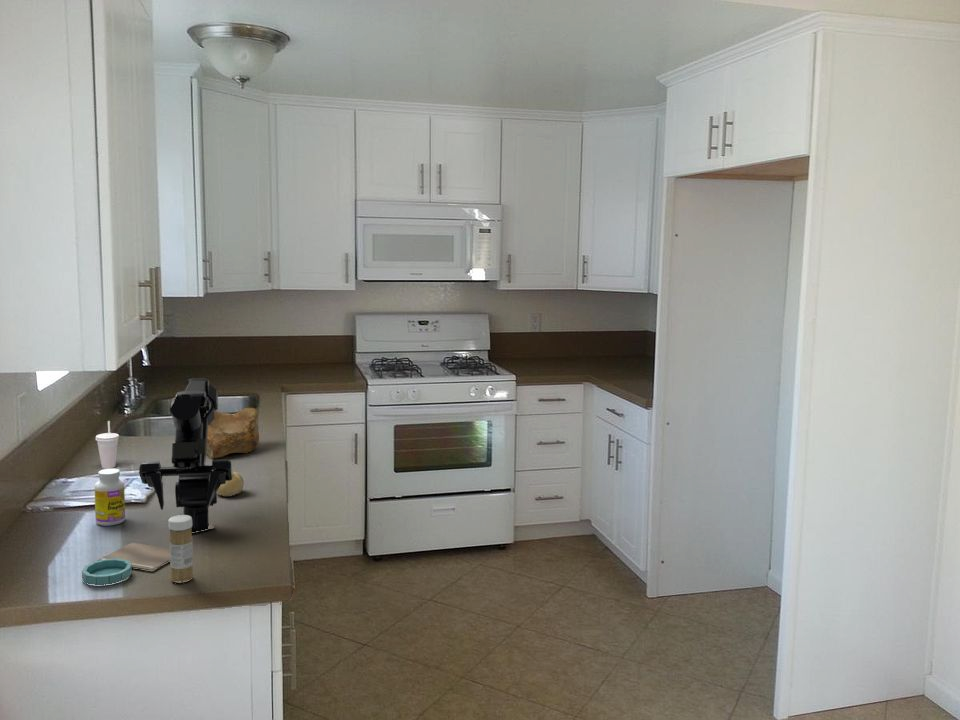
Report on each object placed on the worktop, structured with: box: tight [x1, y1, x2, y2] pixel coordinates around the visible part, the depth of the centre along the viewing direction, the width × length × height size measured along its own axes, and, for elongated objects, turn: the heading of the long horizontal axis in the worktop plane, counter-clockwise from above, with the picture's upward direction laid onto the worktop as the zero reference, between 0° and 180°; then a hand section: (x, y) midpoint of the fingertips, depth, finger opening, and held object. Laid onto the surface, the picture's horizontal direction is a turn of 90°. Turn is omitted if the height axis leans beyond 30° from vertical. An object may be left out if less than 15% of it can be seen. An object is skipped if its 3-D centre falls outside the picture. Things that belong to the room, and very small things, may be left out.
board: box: [96, 542, 170, 570], centre depth 179 cm, size 11×14×1 cm
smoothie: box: [95, 420, 120, 470], centre depth 244 cm, size 6×6×14 cm
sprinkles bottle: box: [168, 514, 194, 582], centre depth 168 cm, size 5×5×14 cm
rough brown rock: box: [206, 407, 260, 460], centre depth 261 cm, size 23×17×15 cm
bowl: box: [81, 558, 133, 585], centre depth 169 cm, size 9×9×2 cm
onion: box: [216, 470, 245, 497], centre depth 223 cm, size 8×8×7 cm
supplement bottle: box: [94, 468, 126, 527], centre depth 199 cm, size 7×7×13 cm
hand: (184, 507), depth 174 cm, fingers open, 9 cm apart
